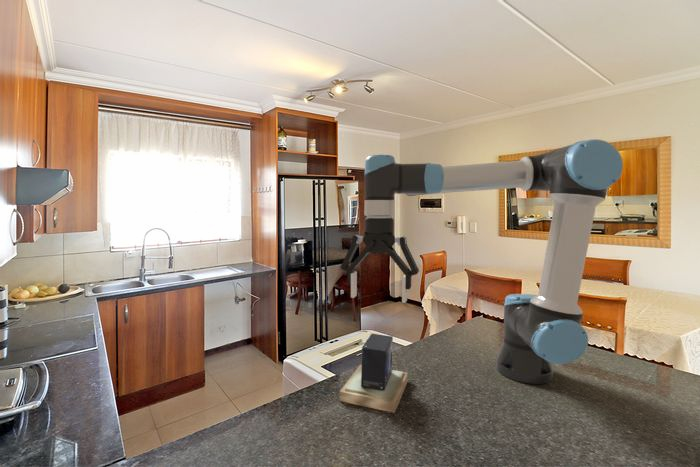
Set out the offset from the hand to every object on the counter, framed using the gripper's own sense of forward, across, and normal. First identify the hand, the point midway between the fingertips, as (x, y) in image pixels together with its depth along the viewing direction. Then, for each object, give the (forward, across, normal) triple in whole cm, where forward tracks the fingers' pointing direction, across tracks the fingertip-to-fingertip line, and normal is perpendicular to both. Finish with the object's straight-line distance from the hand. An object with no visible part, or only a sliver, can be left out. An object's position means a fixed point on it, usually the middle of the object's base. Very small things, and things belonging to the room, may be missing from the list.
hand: (378, 299), depth 90 cm
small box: (+22, 0, 0) cm, 22 cm away
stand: (+25, 0, 0) cm, 25 cm away
